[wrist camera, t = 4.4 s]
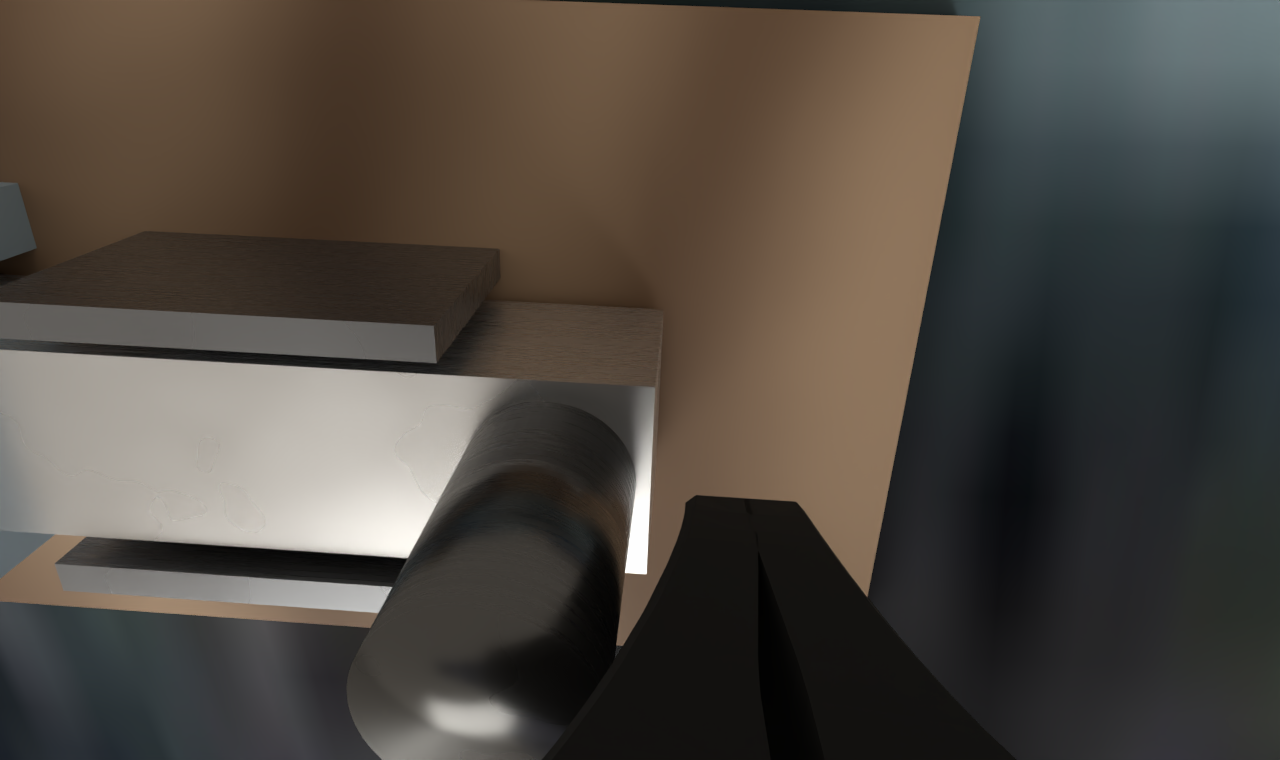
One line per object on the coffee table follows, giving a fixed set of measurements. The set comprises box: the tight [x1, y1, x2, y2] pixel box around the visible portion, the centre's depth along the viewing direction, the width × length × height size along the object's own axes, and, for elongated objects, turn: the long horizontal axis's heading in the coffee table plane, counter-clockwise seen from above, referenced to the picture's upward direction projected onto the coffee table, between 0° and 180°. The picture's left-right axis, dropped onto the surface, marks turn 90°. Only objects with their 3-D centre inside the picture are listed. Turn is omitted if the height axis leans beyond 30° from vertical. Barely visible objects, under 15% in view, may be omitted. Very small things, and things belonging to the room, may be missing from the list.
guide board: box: [0, 0, 980, 646], centre depth 14 cm, size 20×12×1 cm, turn 89°
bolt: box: [0, 274, 663, 760], centre depth 11 cm, size 12×3×7 cm, turn 89°
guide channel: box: [0, 231, 501, 613], centre depth 12 cm, size 6×5×4 cm
